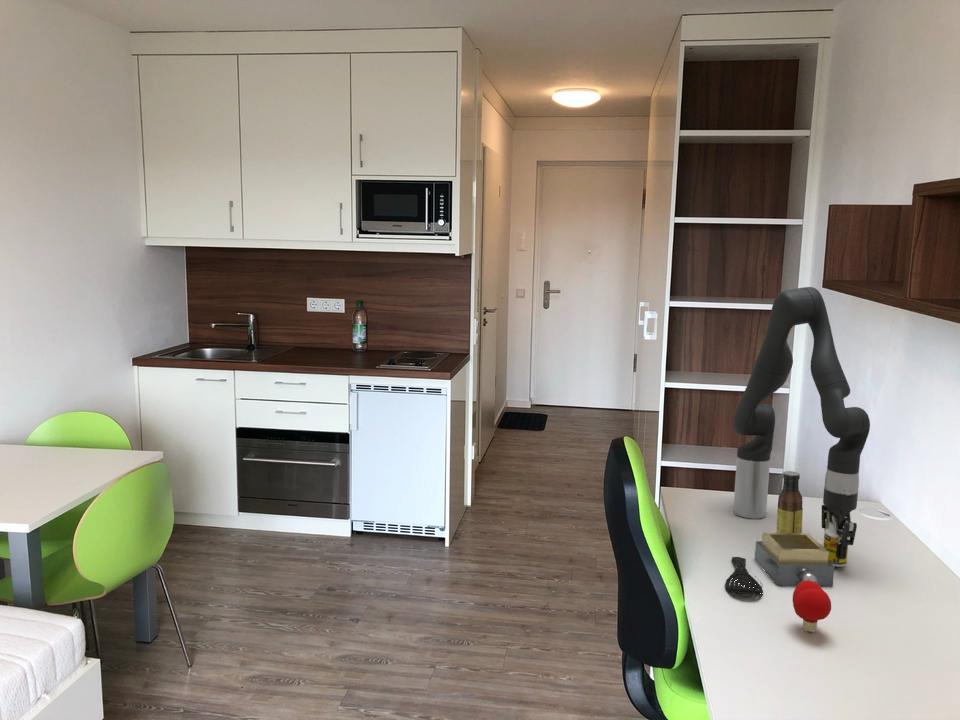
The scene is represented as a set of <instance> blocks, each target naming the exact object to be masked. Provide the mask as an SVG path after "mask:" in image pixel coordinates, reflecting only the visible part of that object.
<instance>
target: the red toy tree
mask: <svg viewBox="0 0 960 720" xmlns="http://www.w3.org/2000/svg"><path fill="white" fill-rule="evenodd" d="M792 607H793V609H794V612H795V614H796V615H797V616H798V618H800V619H802V628H803V629H804V630H805V631H806V633H809V634H811V633H813V632H816V631H817V629H818V622H819V621H822V620H824V619H826V618H828V616H829V615H830V613H831V611H832V600H831V599H830V596H829V594H828V593H827V592H826V591H824V589H823V587H820V586H819V585H818V584H817V583H815V582H813V581H802V582H800V583H799V584H798V585H797V586H795V587H794V590H793V593H792Z"/></svg>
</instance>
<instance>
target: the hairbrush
mask: <svg viewBox="0 0 960 720" xmlns="http://www.w3.org/2000/svg"><path fill="white" fill-rule="evenodd" d="M731 557H732V558H731V561H732V563H734V565H735V567H736V568H735V569H734V571H732V572H731V574H730V575H729V577H728V578H726V579H725V583H724V588H725V587H726V589H725V591H726V592H731V593H740V594H741V593H742V594H749V595H751V594H752V595H757V596H758V595H759V596H762V595H764V590H763V583H762V581H759V582H758V580H757V579H756V578H757V575H754V577H753V575H751V574H750V573H749V572H750V570H749V571H748V569H747V567H746V563H747V562H746V561H747V559H746V558H744V557H740V556H731ZM732 578H733V579H732ZM731 579H732V580H731ZM737 579H738V580H737ZM730 580H731V581H732V582H730ZM735 580H737V581H735ZM734 581H735V583H734ZM749 582H750V583H749ZM738 583H740V584H739V585H738ZM755 584H756V585H755ZM741 585H742V586H741ZM744 585H745V587H744ZM749 587H750V588H749ZM753 587H754V588H753ZM758 589H759V590H758ZM760 593H761V594H760ZM762 593H763V594H762Z"/></svg>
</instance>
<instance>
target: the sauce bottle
mask: <svg viewBox="0 0 960 720" xmlns="http://www.w3.org/2000/svg"><path fill="white" fill-rule="evenodd" d="M782 479H783V485H782V489H781V491H780V494H779V495H778V498H777V499H778V501H777V509H776V510H777V512H776V514H777V515H776V517H777V518H776V533H803V514H804V513H803V509H804V508H803V502H804V501H803V495H802V493H801V492H800V490H799V489H800V488H799V485H800V484H799V483H800V482H799V481H800V473H799V472H798V471H791V470H785V471H784V472H782Z"/></svg>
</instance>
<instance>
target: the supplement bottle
mask: <svg viewBox="0 0 960 720" xmlns="http://www.w3.org/2000/svg"><path fill="white" fill-rule="evenodd" d="M824 530H825V529H824ZM838 530H839V529H838ZM839 531H843V530H839ZM841 539H842V535H841ZM837 544H838V543H837V535H836V534H835V533H834V524H833V523H832V522H831V521H830V522H829V528H827V529H826V530H825V531H824V537H823V544H822V546H823V547H824V548H826V549H827V550H828V551H829V554H828V561H829V562H830V563H831V564H832V565H833V566H834V567H839V568H840V567H845V566H846V564H847V562H848V555H849V554H848V552H849V545H847V555H846V559H838V558H837V557H836V550H837Z"/></svg>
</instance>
